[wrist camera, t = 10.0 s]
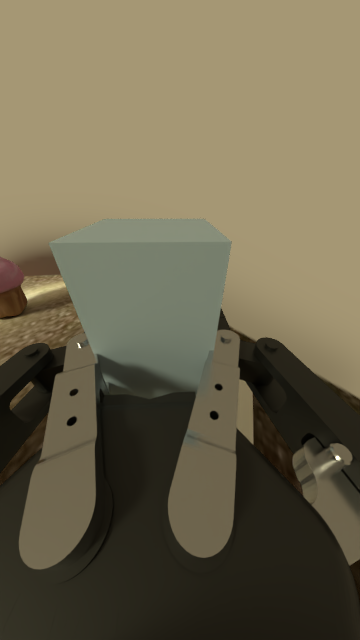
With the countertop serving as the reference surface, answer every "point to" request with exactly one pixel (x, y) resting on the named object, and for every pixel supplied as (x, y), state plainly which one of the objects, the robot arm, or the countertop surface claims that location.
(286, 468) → the countertop surface
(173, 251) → the grey rectangular block
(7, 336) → the countertop surface
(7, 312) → the cupcake
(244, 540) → the robot arm
